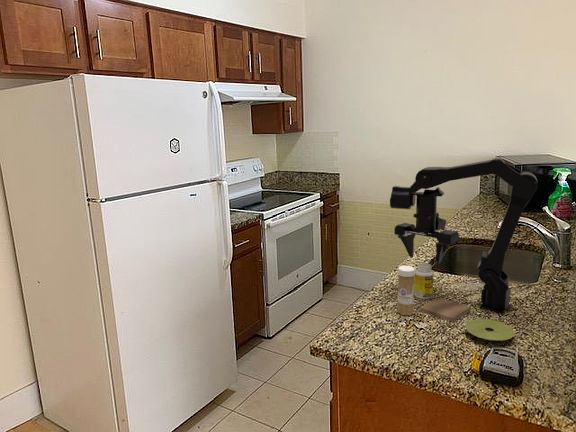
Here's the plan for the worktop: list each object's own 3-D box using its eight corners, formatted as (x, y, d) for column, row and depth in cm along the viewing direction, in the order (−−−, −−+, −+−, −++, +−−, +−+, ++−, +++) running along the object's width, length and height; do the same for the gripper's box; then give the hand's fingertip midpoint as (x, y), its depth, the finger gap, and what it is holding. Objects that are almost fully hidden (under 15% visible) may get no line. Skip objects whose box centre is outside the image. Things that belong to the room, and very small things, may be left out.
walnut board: (470, 310, 122) (470, 307, 122) (453, 321, 116) (453, 318, 116) (438, 300, 130) (438, 297, 130) (420, 310, 123) (420, 307, 123)
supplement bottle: (424, 301, 130) (425, 269, 128) (410, 295, 134) (410, 264, 132) (436, 296, 133) (437, 265, 130) (422, 291, 137) (423, 260, 135)
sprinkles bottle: (396, 314, 121) (397, 269, 119) (398, 308, 126) (399, 264, 123) (412, 317, 120) (414, 271, 117) (414, 310, 124) (415, 265, 121)
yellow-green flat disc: (498, 352, 100) (499, 344, 100) (455, 334, 109) (456, 327, 109) (522, 337, 107) (523, 330, 106) (480, 321, 116) (480, 314, 115)
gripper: (469, 209, 126) (467, 260, 129) (413, 202, 140) (412, 248, 143) (450, 216, 119) (448, 269, 122) (393, 208, 133) (392, 256, 136)
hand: (424, 260), depth 131 cm, fingers open, 9 cm apart
